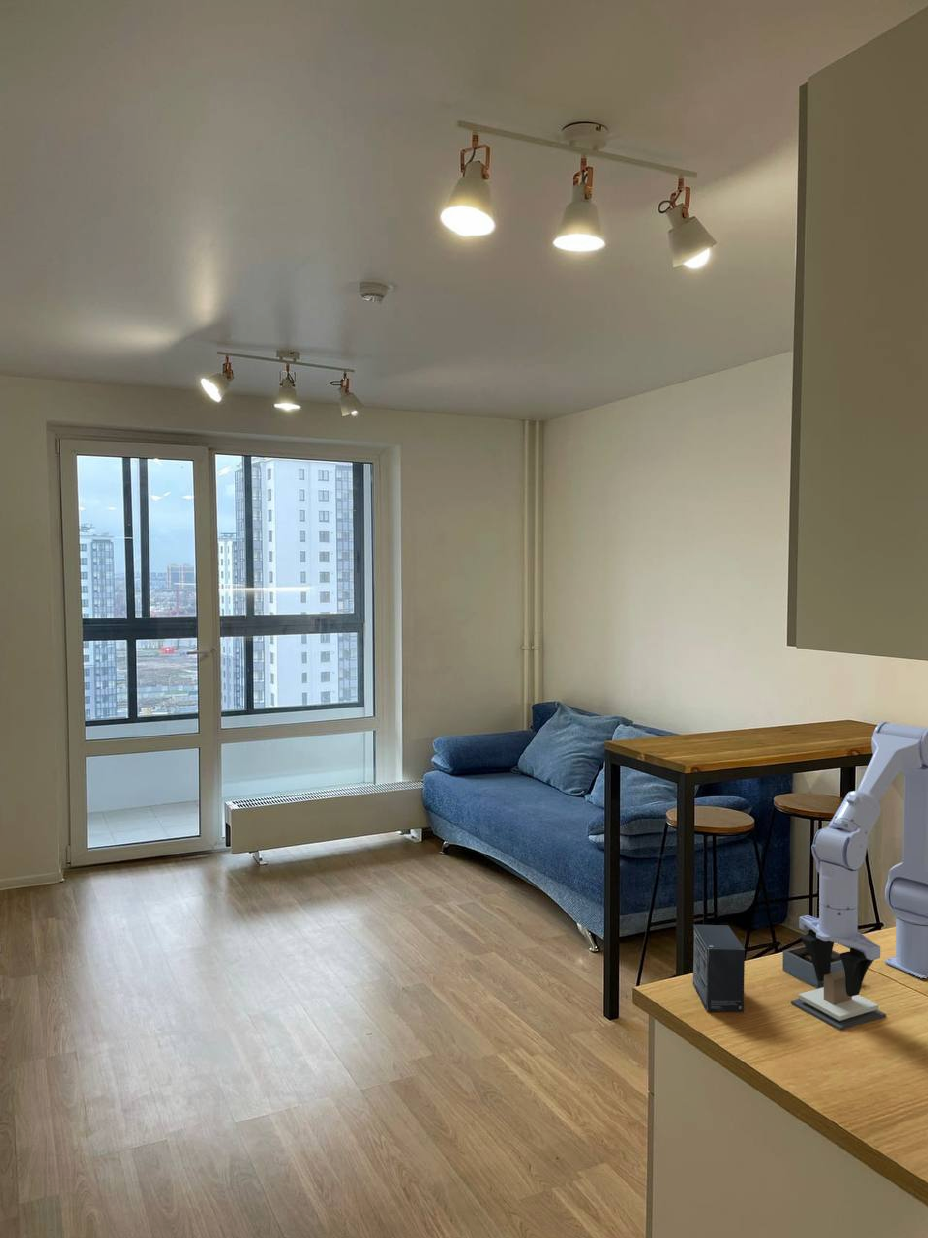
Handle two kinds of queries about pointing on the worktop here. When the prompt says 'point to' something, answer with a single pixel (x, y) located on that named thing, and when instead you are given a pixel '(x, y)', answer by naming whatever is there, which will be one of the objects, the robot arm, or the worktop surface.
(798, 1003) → the mat
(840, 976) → the lid
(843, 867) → the robot arm
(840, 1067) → the worktop surface
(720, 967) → the small box
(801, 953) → the tin
